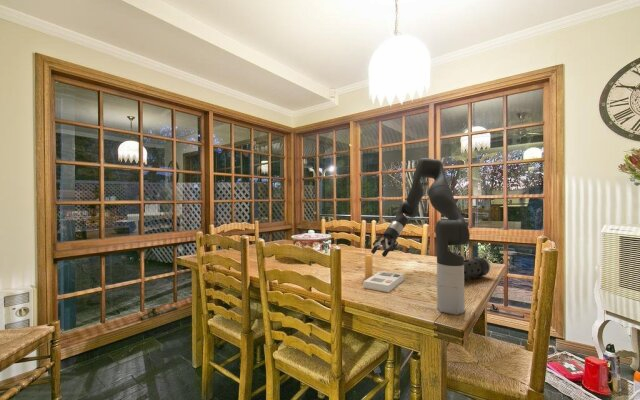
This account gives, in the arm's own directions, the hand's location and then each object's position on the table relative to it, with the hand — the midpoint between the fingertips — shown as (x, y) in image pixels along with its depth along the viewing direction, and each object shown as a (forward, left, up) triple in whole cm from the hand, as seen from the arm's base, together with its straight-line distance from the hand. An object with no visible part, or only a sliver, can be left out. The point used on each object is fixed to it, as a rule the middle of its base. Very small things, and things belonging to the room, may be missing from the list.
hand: (377, 254), depth 148 cm
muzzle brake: (+18, -39, -12) cm, 45 cm away
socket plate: (-9, -7, -12) cm, 17 cm away
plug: (-5, +3, -12) cm, 13 cm away
